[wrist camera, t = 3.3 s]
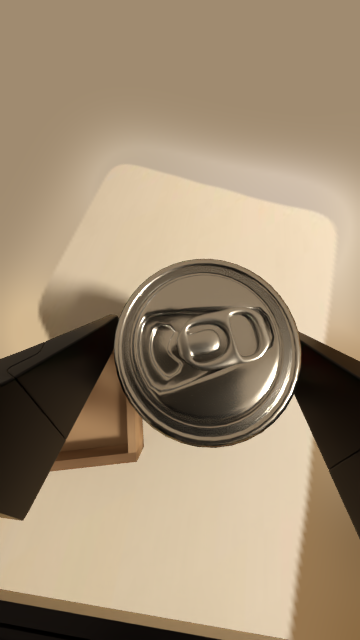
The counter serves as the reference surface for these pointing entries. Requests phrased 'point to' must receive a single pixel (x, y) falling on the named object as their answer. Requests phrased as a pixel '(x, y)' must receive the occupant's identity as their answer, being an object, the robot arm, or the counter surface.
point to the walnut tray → (103, 427)
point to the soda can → (207, 353)
